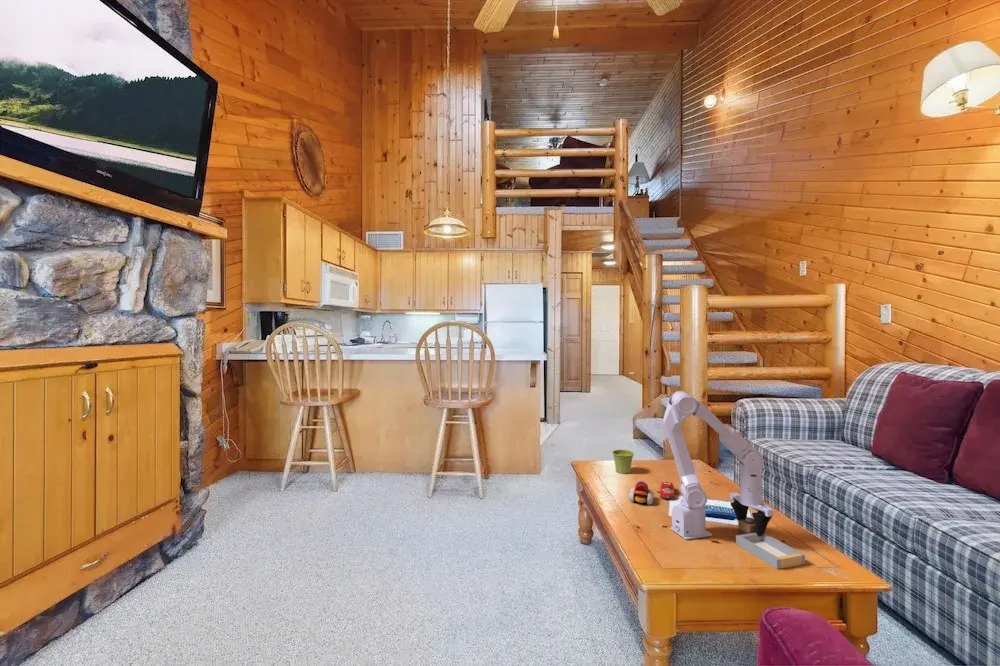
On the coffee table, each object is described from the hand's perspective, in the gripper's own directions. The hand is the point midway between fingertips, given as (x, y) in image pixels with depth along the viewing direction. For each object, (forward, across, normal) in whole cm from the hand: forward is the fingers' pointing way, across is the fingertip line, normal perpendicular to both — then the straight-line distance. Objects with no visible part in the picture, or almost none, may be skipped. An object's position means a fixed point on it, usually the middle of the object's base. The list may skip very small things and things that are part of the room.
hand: (751, 530), depth 138 cm
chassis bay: (+2, -10, +3) cm, 10 cm away
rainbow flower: (+2, +34, +17) cm, 38 cm away
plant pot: (+1, +66, +6) cm, 66 cm away
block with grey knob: (+2, 0, 0) cm, 2 cm away
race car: (+2, +38, +3) cm, 38 cm away
